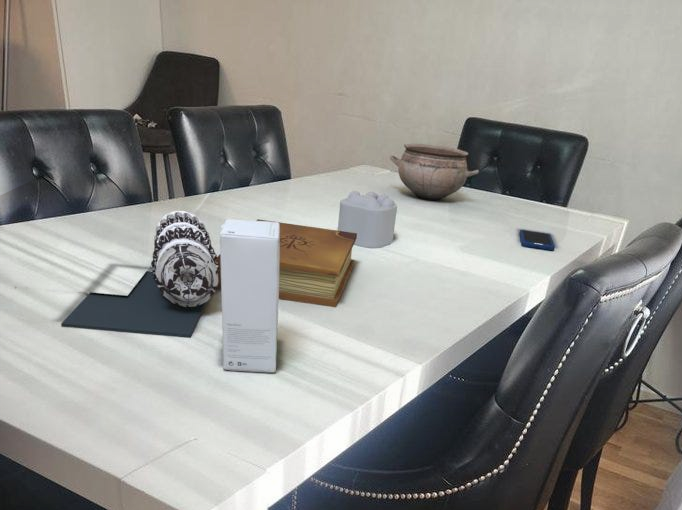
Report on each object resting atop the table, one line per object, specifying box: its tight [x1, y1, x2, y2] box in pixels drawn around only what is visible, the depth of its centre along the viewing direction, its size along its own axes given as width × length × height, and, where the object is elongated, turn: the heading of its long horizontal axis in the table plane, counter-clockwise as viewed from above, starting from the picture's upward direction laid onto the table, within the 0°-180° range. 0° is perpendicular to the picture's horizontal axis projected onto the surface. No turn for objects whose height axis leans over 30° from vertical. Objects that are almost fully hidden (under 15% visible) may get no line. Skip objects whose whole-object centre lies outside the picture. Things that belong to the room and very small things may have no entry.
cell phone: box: [519, 229, 556, 251], centre depth 149 cm, size 7×14×1 cm, turn 171°
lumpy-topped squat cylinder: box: [337, 190, 398, 249], centre depth 133 cm, size 10×13×9 cm
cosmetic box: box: [219, 218, 280, 373], centre depth 75 cm, size 8×7×16 cm
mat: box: [60, 270, 207, 338], centre depth 92 cm, size 16×24×1 cm, turn 2°
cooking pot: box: [389, 143, 480, 201], centre depth 177 cm, size 25×19×12 cm
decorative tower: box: [150, 210, 219, 307], centre depth 95 cm, size 9×9×25 cm
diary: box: [216, 218, 357, 308], centre depth 107 cm, size 23×19×6 cm
